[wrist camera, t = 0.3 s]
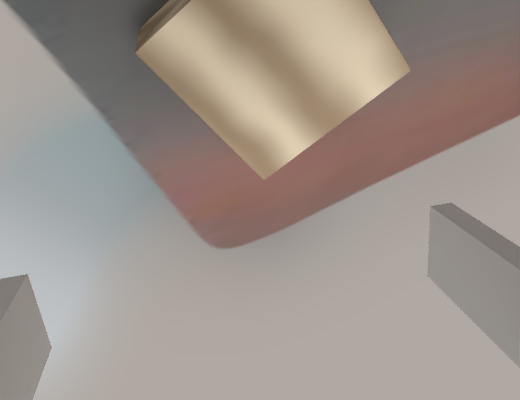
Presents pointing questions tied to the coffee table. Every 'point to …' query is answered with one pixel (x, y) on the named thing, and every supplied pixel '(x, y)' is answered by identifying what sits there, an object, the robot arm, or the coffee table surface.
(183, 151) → the coffee table surface
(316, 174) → the coffee table surface
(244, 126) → the birch box
